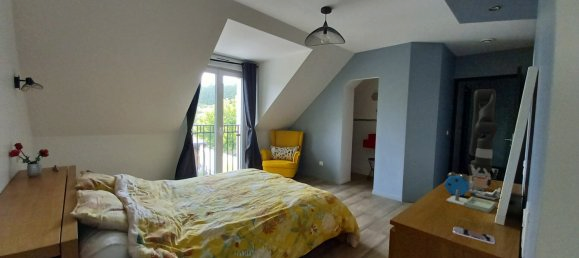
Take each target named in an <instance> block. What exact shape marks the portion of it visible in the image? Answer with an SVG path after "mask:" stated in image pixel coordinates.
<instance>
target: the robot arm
mask: <svg viewBox="0 0 579 258" xmlns="http://www.w3.org/2000/svg"><path fill="white" fill-rule="evenodd" d="M496 98H497V93H496V90H495V89H493V88H488V89H485V88H483V89H475V91H474V94H473V116H472V120H471V121H472V122H471V123H472V124H471V135H470V144H469V149H468V150H469V155H471V156H474V159H473V160H471V161H470V164H468V166H467V169H468V175H469V178H468V181H469V182H473V178H474V177H476V176H482V177H487V178H488V184H487V186H488V187H490V186H491V185H492V181H494V180H495V179H497V176H498V173H499V169H498V168H493V167H492V164H493V163H492V162H493V146H494V140H495V138H496V135H497V134H498V131H499V128H500V127H499V125H498V123H496V122H494V121H495V118H494V117H495V116H494V113H495V111H494V110H495V108H496V107H495V106H496ZM480 104H485V105H484V106H483V107H481V105H480ZM484 135H488V136H487V137H483V136H484ZM491 171H492V173H493V174H492V175H493V176H491V173H490V172H491ZM472 187H474V189H477V190H478V191H483V190H482V189H484V190H485V189H486V188H481V187H477V186H470V188H469V189H472ZM485 191H486V190H485Z"/></svg>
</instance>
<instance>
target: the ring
mask: <svg viewBox="0 0 579 258" xmlns="http://www.w3.org/2000/svg"><path fill="white" fill-rule="evenodd" d="M487 184H488V177H487V176H486V177H482V176H476V177H474V178H473V186H477V187H481V188H485V189H486V188H488V187H489V186H487Z"/></svg>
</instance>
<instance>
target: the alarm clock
mask: <svg viewBox="0 0 579 258" xmlns="http://www.w3.org/2000/svg"><path fill="white" fill-rule="evenodd" d="M468 181H469V176H468V175H467V174H465V173H461V174H457V173H456V172H453V171H452V172H451V171H450V172H449V173H448V174H447V179H445V182H444V187H445V189H446V191H447V192H448V193H449V194H451V195H452V196H456V190H460V195H459V197H460V196H461V197H462V196H464V195H466V194H467V193H469V190H470V189H471V188H470V184H469V182H468Z"/></svg>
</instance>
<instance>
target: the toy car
mask: <svg viewBox="0 0 579 258" xmlns="http://www.w3.org/2000/svg"><path fill="white" fill-rule="evenodd" d="M468 182H469V180H468ZM469 184H470V186H473V182H469ZM501 189H502V188H501V187H498V188H497V189H495V190H494V191H493V192H490V191H486V190H484V189H482V190H477V189H474V187H472V188H469V190H468V193H470V195H469V196H471V197H475V198H481V199H486V200H487V199H489V200H491V201H492V200H493V201H494V202H495V203H496V202H497V203H500V202H499V198H500V194H501ZM500 199H501V198H500Z"/></svg>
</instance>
